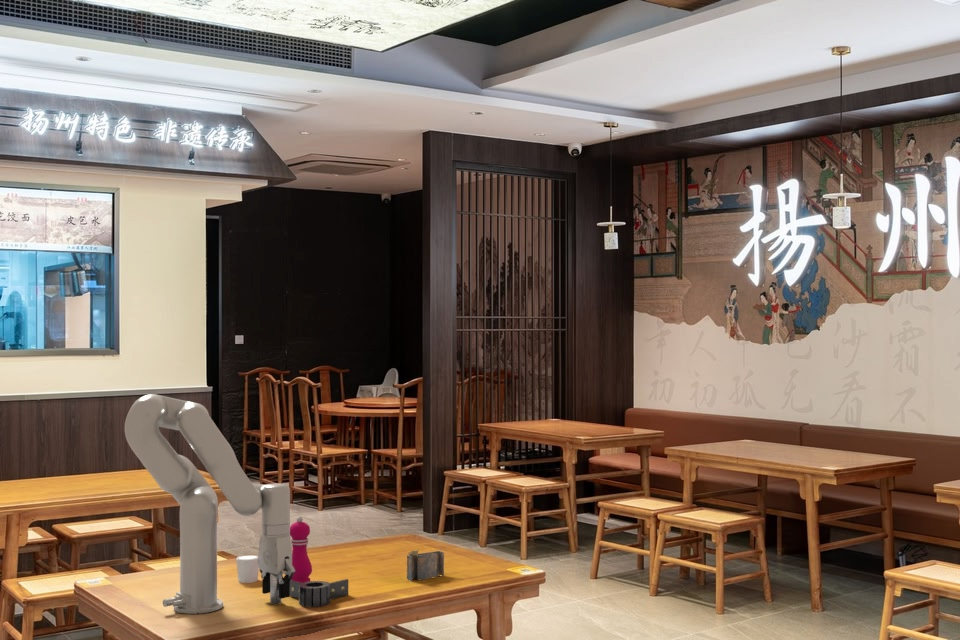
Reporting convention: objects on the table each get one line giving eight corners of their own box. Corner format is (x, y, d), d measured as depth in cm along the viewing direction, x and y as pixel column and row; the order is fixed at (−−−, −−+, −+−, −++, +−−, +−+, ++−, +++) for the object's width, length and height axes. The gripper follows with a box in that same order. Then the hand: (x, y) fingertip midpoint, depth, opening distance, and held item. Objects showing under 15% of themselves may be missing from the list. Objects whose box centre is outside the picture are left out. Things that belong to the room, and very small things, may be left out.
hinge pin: (274, 605, 262) (274, 567, 262) (268, 603, 264) (268, 566, 264) (283, 602, 264) (283, 565, 264) (277, 600, 266) (277, 564, 266)
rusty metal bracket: (411, 583, 287) (411, 550, 287) (407, 581, 290) (407, 548, 290) (444, 578, 293) (444, 545, 293) (439, 576, 296) (439, 544, 296)
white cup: (242, 584, 284) (242, 560, 284) (232, 580, 289) (232, 556, 290) (263, 580, 289) (263, 557, 289) (253, 576, 294) (253, 553, 294)
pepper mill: (306, 588, 279) (306, 519, 279) (283, 587, 280) (283, 518, 281) (315, 582, 286) (315, 514, 286) (292, 581, 287) (292, 514, 288)
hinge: (311, 608, 258) (311, 590, 258) (277, 598, 268) (277, 580, 269) (357, 597, 269) (357, 579, 269) (322, 587, 280) (322, 570, 280)
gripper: (246, 527, 268) (246, 592, 267) (283, 535, 256) (283, 603, 255) (269, 523, 273) (268, 587, 273) (306, 531, 261) (306, 598, 261)
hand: (275, 594), depth 264 cm, fingers open, 6 cm apart
